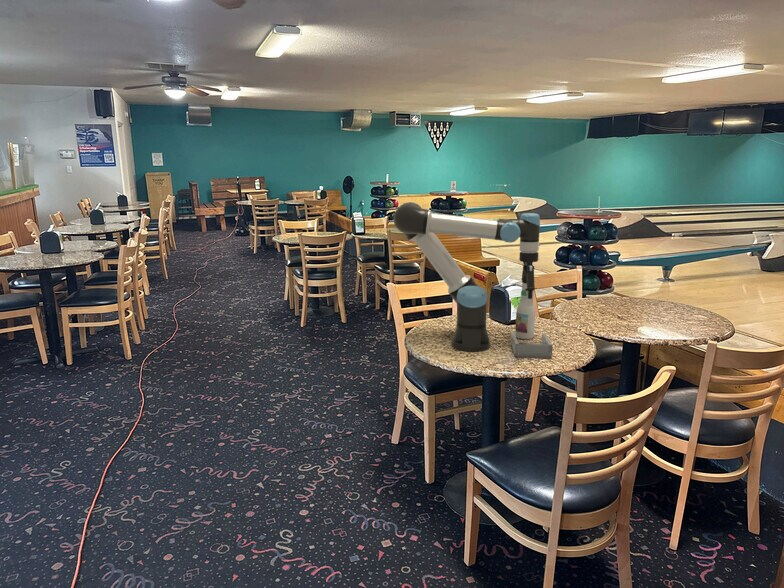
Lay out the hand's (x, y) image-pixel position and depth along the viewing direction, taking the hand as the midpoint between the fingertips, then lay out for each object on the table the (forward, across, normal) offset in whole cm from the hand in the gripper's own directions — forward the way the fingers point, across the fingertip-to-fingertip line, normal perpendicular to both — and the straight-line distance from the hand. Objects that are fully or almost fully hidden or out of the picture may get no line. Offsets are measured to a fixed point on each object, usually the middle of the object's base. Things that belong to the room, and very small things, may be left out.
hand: (527, 302), depth 219 cm
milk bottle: (+15, 0, 0) cm, 15 cm away
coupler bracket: (+15, -18, 0) cm, 23 cm away
